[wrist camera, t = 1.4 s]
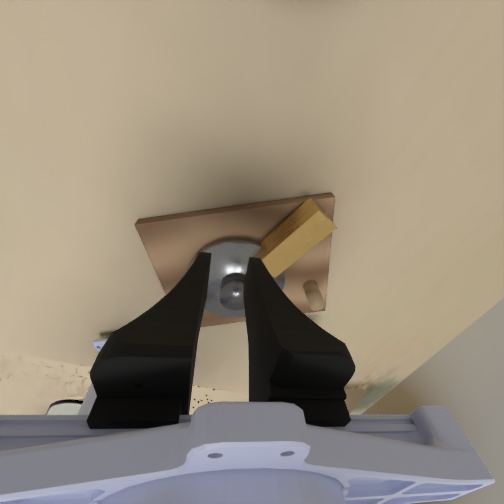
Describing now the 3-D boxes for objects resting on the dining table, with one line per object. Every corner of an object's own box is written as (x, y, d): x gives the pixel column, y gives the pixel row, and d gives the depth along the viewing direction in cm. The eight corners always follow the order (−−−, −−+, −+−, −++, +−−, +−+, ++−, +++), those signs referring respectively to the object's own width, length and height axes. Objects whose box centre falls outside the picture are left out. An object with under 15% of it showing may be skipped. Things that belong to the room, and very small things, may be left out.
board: (322, 304, 31) (333, 330, 28) (183, 323, 31) (177, 351, 28) (331, 192, 22) (348, 211, 19) (138, 219, 23) (122, 242, 19)
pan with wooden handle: (240, 322, 30) (240, 343, 27) (168, 282, 25) (161, 304, 23) (349, 237, 24) (363, 255, 21) (280, 167, 19) (287, 179, 17)
